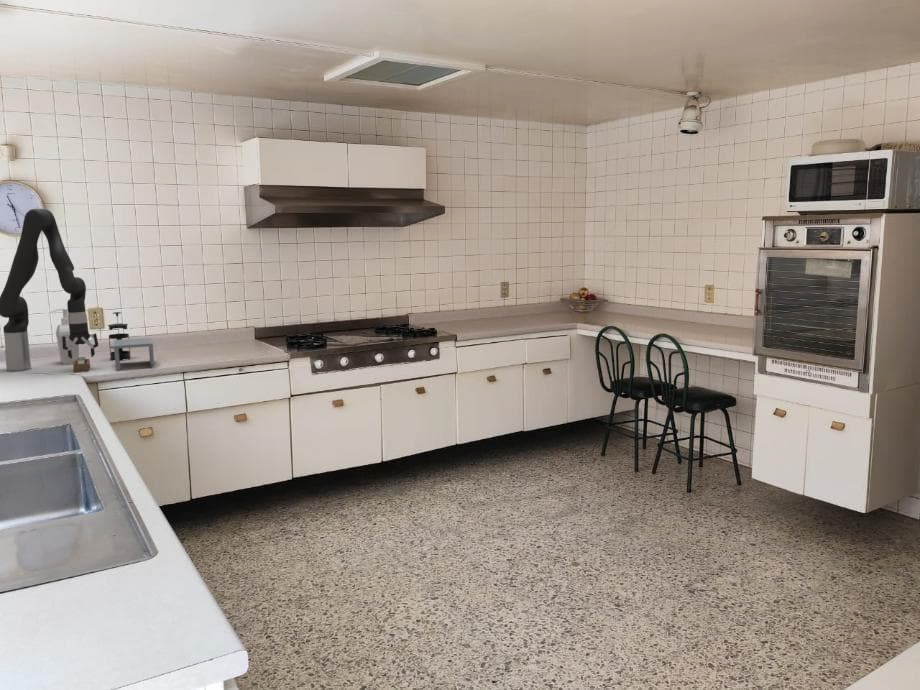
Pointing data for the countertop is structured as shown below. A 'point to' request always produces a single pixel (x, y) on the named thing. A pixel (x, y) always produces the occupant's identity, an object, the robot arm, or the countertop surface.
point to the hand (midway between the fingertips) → (81, 357)
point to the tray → (81, 364)
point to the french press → (119, 337)
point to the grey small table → (129, 344)
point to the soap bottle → (64, 331)
